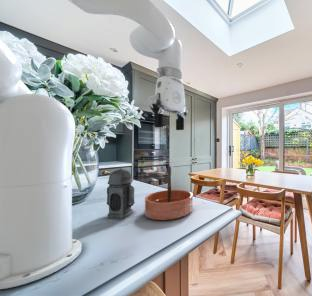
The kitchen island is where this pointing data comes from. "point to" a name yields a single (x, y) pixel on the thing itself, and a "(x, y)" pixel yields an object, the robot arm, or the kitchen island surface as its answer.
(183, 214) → the bowl
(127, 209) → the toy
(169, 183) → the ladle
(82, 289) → the kitchen island surface
